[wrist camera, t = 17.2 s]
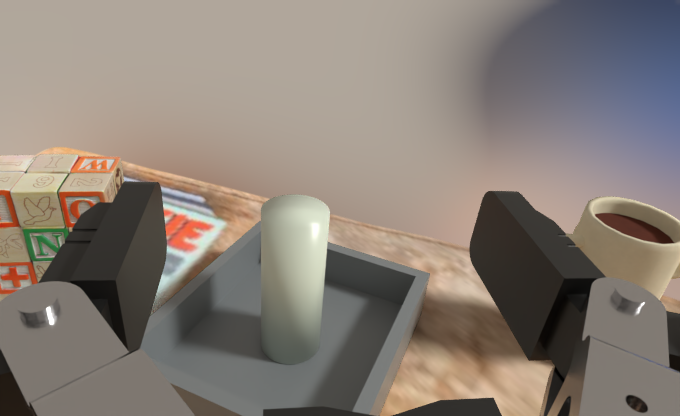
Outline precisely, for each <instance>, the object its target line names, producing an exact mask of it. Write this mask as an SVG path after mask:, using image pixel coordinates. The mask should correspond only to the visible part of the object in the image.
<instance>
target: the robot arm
mask: <svg viewBox="0 0 680 416" xmlns="http://www.w3.org/2000/svg"><path fill="white" fill-rule="evenodd" d="M575 245H576V244H575V243H574V242H573V241H572V240H571V239H570V238H569V237H568V236H566V233H565V232H564V231H563V230H562V229H561V228H560V227H559V226H558V225H557V224H556V223H555V222H554V221H553V220H551V219H549V218H548V217H546V216H544V215H543V214H541V213H540V212H538V211H536V210H535V209H534V208H533V207H532V206H531V205H530V204H529V202H528V201H526V199H525V198H524V197H523V196H522V195H521V194H520V193H519V192H512V191H488V192H487V193H486V194H485V195H484V197H483V200H482V203H481V206H480V210H479V213H478V217H477V220H476V224H475V227H474V231H473V234H472V238H471V241H470V258H471V262H472V264H473V266H474V268H475V270H476V271H477V273H478V275H479V276H480V278H481V280H482V281H483V283H484V285H485V287H486V288H487V290H488V292H489V293H490V295H491V297H492V298H493V300H494V302H495V304H496V305H497V307H498V309H499V310H500V312H501V314H502V315H503V317H504V319H505V321H506V322H507V324H508V326H509V327H510V329H511V331H512V333H513V334H514V336H515V338H516V339H517V341H518V343H519V344H520V346H521V348H522V350H523V351H524V353H525V355H526V356H527V358H528V360H529V361H532V360H552V362H553V363H554V366H553V368H552V370H551V372H550V375H549V378H548V382H547V386H546V390H545V395H544V399H543V403H542V407H541V411H540V416H680V314H678V313H673V312H668V311H666V309H665V307H664V305H663V304H662V303H661V301H660V300H659V299H658V298H657V297H656V296H654V295H653V294H652V293H650V292H649V291H648V290H646V289H644V288H642V287H641V286H639V285H636V284H634V283H632V282H629V281H626V280H623V279H618V278H612V277H606V276H605V275H604V274H603V273H602V272H601V271H600V270H599V269H598V268H597V267H596V266H595V264H594V263H593V262H592V261H591V260H590V259H589V258H588V257H587V256H586V255H585V254H584V253H583V252H582V251H581V250H580V248H579V247H576V246H575ZM166 251H167V240H166V230H165V220H164V211H163V201H162V192H161V187H160V184H159V183H158V182H127V181H125V182H123V183H122V185H121V187H120V189H119V191H118V192H117V194H116V196H115V198H114V200H113V202H98V203H97V204H95V205H94V206H92V207H91V208H89V209H88V210H87V211H85V212H84V213H82V214H81V215H80V217H79V218H78V220H77V222H76V223H75V225H74V226H73V228H72V232H70V233H69V234H68V236H67V238H66V239H65V244H62V246H61V247H60V249H59V250H58V252H57V254H56V255H55V257H54V258H53V260H52V262H51V263H50V265H49V266H48V268H47V270H46V271H45V273H44V274H43V276H42V278H41V279H40V281H39V282H38V283H37V284H33V285H30V286H27V287H24V288H22V289H19V290H17V291H15V292H13V293H11V294H10V295H8V296H7V297H5V298H4V299H3V300H1V301H0V416H195V415H194V413H193V412H192V411H191V410H190V408H189V407H188V406H187V405H186V403H185V402H184V401H183V399H182V398H181V397H180V396H179V394H178V393H177V392H176V390H175V389H174V388H173V387H172V385H171V384H170V383H169V381H168V380H167V379H166V378H165V376H164V375H163V374H162V373H161V371H160V370H159V369H158V367H157V366H156V365H155V364H154V362H153V361H152V360H151V358H150V357H149V356H148V355H147V354H146V353H145V352H144V351H143V350H142V349H140V347H141V343H142V340H143V336H144V333H145V330H146V326H147V323H148V320H149V316H150V313H151V309H152V306H153V303H154V299H155V296H156V292H157V289H158V286H159V282H160V279H161V275H162V272H163V269H164V265H165V260H166ZM263 416H374V415H369V414H363V413H358V412H352V411H347V410H341V409H335V408H330V407H324V406H319V407H298V408H278V409H263ZM393 416H502V415H501V413H500V411H499V409H498V407H497V404H496V402H495V400H494V398H479V399H459V400H440V401H437V402H434V403H430V404H427V405H424V406H421V407H418V408H415V409H412V410H408V411H405V412H402V413H399V414H396V415H393Z"/></svg>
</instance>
